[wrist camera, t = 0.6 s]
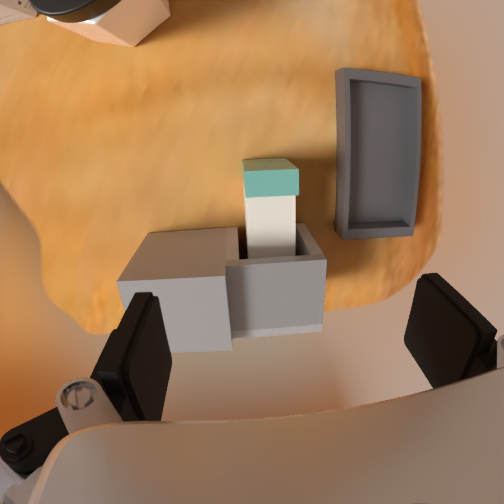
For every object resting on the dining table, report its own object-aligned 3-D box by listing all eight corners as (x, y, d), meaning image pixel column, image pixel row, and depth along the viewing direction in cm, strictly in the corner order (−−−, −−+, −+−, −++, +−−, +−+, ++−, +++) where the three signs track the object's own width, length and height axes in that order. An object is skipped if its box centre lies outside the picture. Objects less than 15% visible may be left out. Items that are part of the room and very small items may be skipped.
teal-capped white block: (242, 159, 29) (244, 171, 23) (285, 158, 29) (298, 169, 23) (247, 267, 33) (251, 301, 27) (286, 264, 33) (297, 298, 28)
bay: (148, 233, 31) (116, 281, 22) (304, 223, 32) (332, 268, 23) (159, 291, 34) (137, 352, 25) (303, 283, 34) (325, 342, 25)
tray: (335, 71, 26) (343, 67, 23) (408, 79, 26) (420, 78, 24) (334, 230, 32) (342, 239, 30) (402, 227, 32) (413, 235, 30)
